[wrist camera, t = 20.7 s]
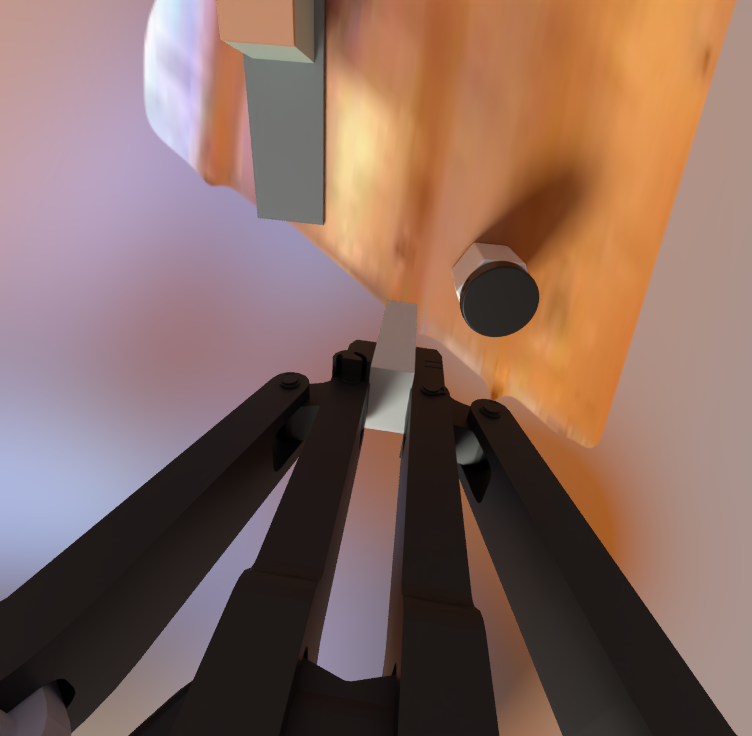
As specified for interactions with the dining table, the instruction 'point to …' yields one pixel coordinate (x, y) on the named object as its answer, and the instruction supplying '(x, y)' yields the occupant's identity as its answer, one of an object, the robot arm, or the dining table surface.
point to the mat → (289, 132)
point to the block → (269, 28)
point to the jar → (494, 290)
